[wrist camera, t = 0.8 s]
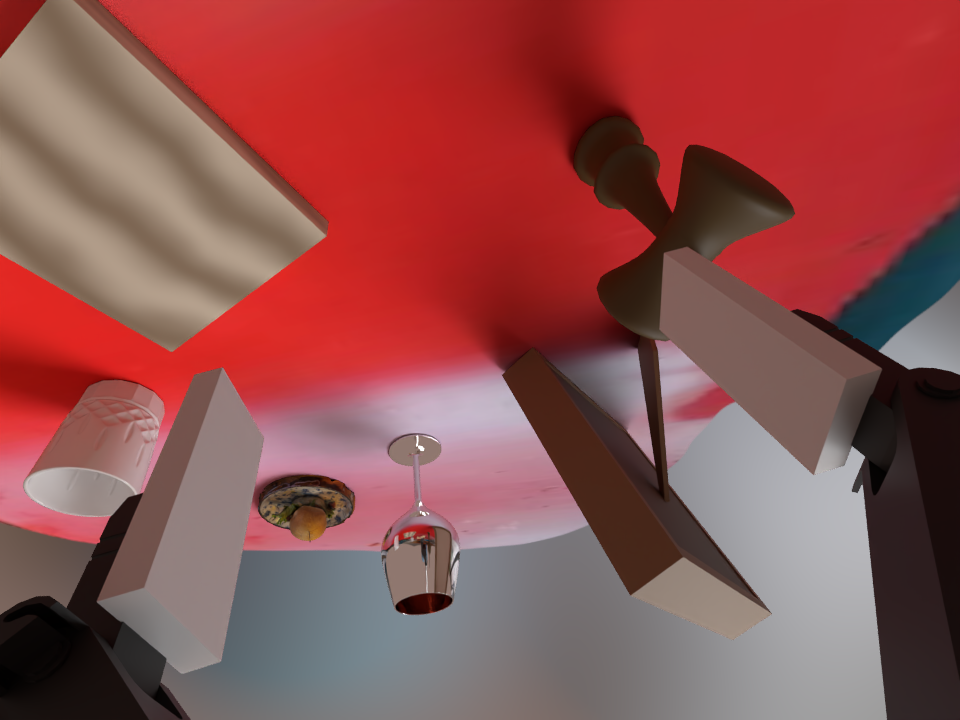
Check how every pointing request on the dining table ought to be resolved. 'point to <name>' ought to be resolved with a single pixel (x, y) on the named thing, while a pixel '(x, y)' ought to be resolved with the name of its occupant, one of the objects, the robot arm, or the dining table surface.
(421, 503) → the wineglass
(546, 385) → the photo frame
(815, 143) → the dining table surface
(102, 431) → the white cup
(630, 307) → the kendama
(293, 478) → the burger
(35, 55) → the birch board
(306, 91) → the dining table surface
